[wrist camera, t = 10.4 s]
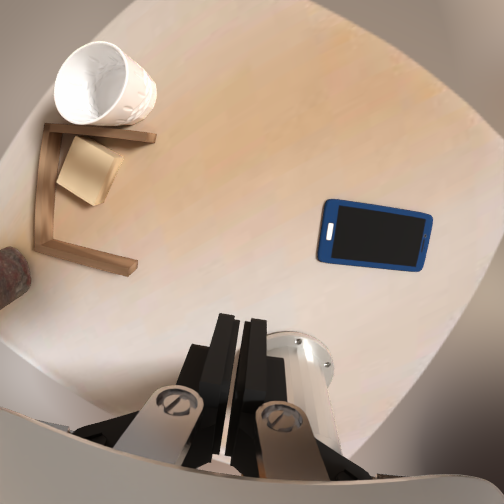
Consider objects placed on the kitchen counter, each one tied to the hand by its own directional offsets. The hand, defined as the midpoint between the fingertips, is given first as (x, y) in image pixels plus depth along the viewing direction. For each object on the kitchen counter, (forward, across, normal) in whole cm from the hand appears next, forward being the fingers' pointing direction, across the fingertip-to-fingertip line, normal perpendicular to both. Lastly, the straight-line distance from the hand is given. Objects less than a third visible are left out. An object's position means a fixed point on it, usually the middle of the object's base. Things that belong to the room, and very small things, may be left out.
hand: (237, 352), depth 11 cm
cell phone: (+26, -14, -1) cm, 30 cm away
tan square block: (+26, +20, -4) cm, 33 cm away
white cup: (+25, +16, -13) cm, 33 cm away
